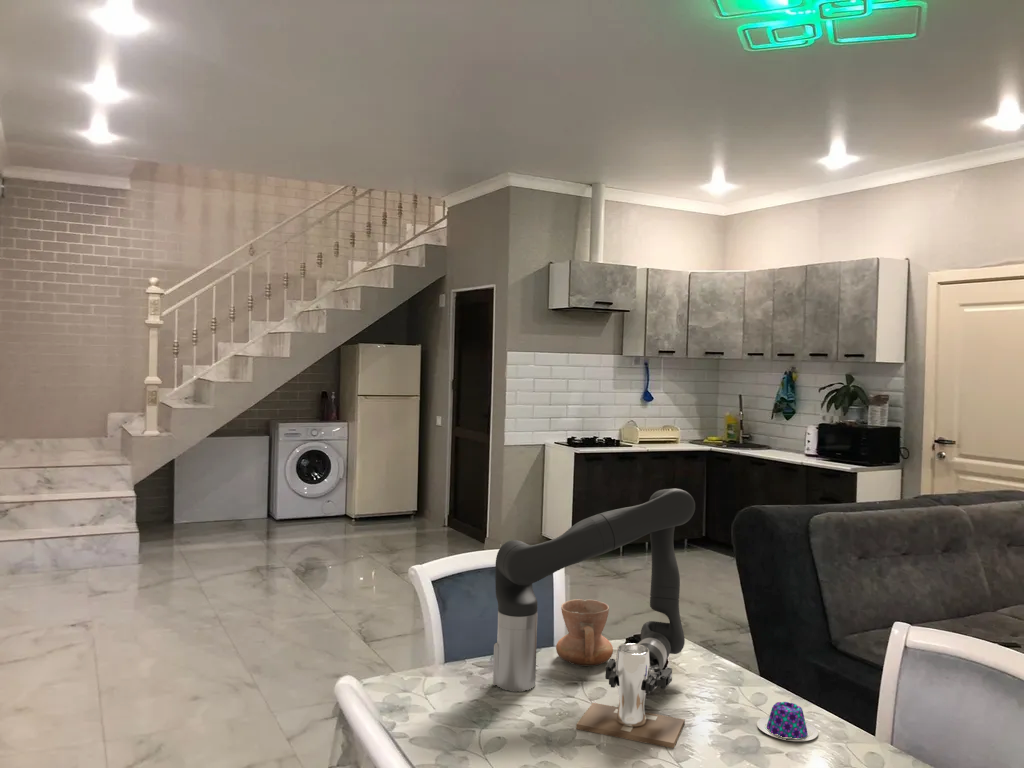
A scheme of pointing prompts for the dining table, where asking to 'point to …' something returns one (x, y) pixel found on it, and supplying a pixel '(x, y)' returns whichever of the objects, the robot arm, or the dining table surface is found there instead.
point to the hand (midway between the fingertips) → (629, 685)
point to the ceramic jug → (584, 633)
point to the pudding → (787, 722)
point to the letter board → (652, 732)
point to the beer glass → (632, 683)
